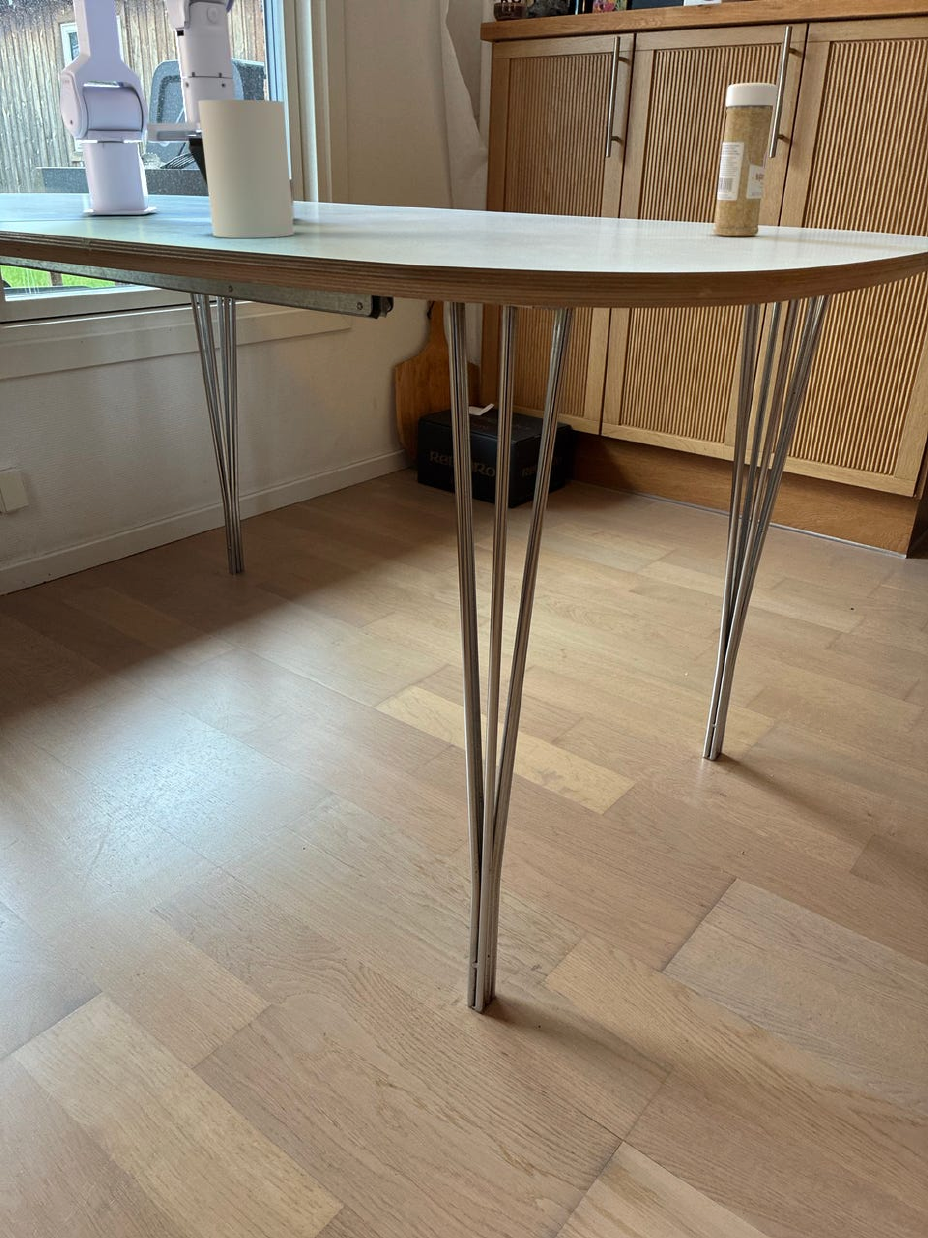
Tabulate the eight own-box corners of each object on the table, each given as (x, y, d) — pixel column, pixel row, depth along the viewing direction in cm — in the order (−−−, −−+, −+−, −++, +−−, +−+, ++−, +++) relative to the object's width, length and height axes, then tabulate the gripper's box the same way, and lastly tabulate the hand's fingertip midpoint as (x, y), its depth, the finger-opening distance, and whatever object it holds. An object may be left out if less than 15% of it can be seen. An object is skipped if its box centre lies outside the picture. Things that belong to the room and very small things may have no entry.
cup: (266, 230, 102) (255, 104, 97) (309, 234, 97) (299, 101, 91) (198, 234, 97) (183, 101, 92) (239, 239, 92) (225, 98, 86)
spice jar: (764, 236, 94) (784, 81, 88) (718, 236, 94) (736, 81, 88) (749, 233, 98) (768, 85, 92) (706, 233, 98) (722, 85, 92)
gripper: (133, 75, 101) (151, 213, 107) (269, 76, 102) (280, 212, 108) (146, 80, 107) (163, 209, 113) (274, 81, 109) (284, 209, 115)
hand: (221, 210), depth 111 cm, fingers closed
